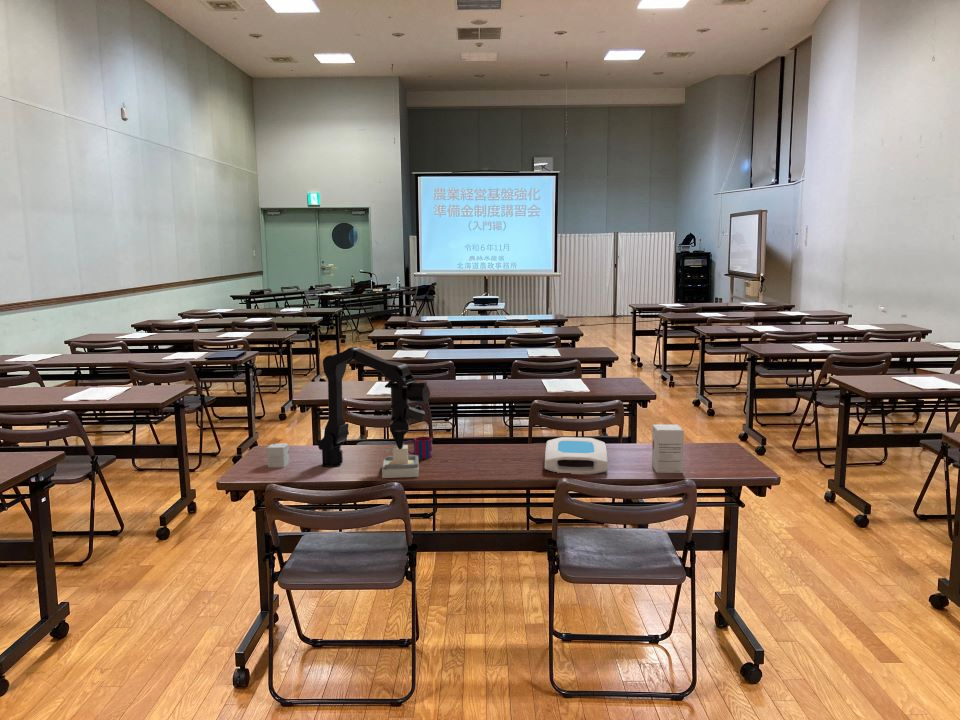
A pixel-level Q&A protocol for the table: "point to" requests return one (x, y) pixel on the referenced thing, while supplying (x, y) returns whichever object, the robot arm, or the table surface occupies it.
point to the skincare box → (278, 455)
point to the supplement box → (667, 448)
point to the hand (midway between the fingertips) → (400, 445)
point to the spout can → (399, 454)
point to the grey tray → (400, 468)
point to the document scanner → (576, 455)
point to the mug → (422, 447)
